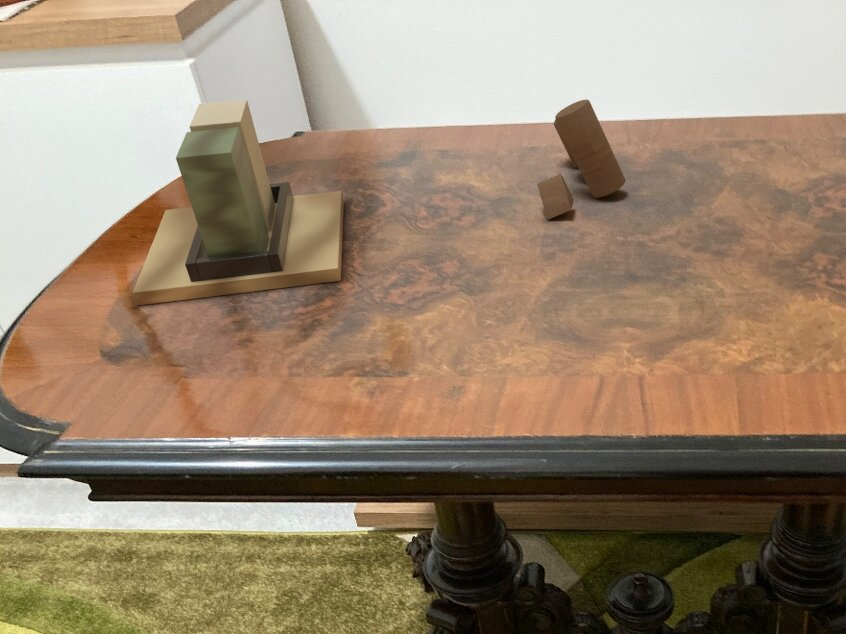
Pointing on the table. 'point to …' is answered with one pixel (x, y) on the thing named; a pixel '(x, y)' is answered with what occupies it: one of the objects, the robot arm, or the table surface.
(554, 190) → the wooden block set
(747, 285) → the table surface
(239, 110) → the cream back pad
